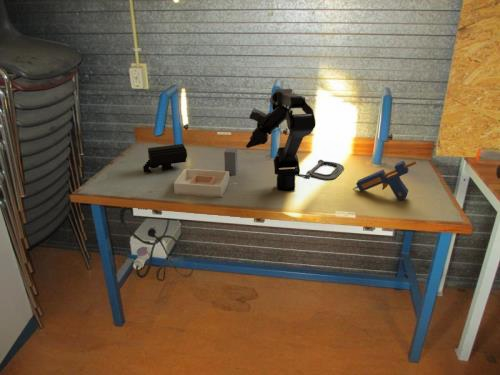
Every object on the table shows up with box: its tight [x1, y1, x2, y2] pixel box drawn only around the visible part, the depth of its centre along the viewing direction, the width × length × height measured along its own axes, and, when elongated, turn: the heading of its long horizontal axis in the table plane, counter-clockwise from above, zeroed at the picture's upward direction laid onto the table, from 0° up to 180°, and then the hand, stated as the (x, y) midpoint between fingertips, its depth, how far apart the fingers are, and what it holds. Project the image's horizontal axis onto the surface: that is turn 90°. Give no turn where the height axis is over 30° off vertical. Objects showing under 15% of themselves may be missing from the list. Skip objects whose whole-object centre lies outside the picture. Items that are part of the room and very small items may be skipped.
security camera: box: [142, 143, 188, 174], centre depth 168 cm, size 7×18×10 cm, turn 111°
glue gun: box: [352, 160, 417, 201], centre depth 145 cm, size 5×25×12 cm
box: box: [173, 168, 230, 198], centre depth 153 cm, size 18×14×4 cm
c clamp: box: [295, 159, 345, 181], centre depth 168 cm, size 20×17×3 cm
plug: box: [223, 147, 239, 176], centre depth 165 cm, size 4×4×10 cm
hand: (248, 143), depth 160 cm, fingers open, 9 cm apart
